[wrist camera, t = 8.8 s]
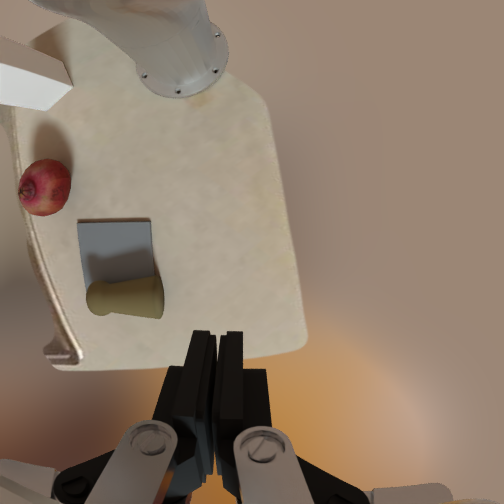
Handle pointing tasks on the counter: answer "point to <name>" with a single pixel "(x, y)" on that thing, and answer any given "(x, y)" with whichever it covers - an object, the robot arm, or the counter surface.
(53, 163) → the fruit
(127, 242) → the grey mat
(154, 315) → the olive brown rounded cylinder
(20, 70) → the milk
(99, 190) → the counter surface
